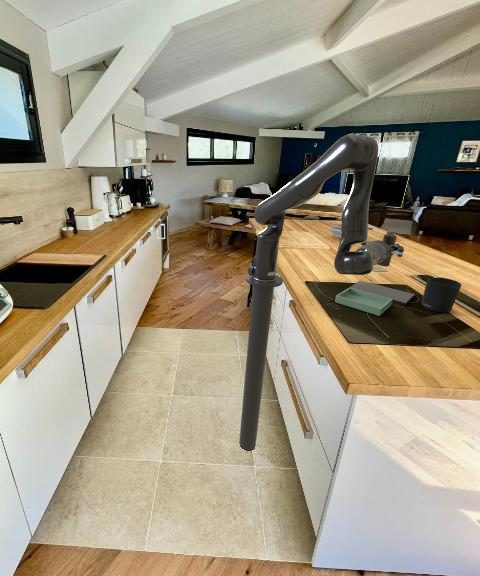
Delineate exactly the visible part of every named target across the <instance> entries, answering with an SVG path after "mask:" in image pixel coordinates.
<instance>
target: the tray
mask: <svg viewBox="0 0 480 576" xmlns="http://www.w3.org/2000/svg"><path fill="white" fill-rule="evenodd" d="M350 287H351V286H349V287H348V288H346V289H344V290H342V291H341V292H339V293H338V294H336V295H335V300H334V303H337V304H340V305H343V306H347V307H349V308H353V309H356V310H360V311H363V312H366V313H368V314H372V315H375V316H378V317H379V316H381V315H382V314H384V313H385V312H386V311H388V309H389V308H390V307H391V306H392V304H393V302H392V300H393V299H391V298H387V297H383V296H380V295H376V294H372V293H368V292H365V291H361V290H357V289H354V288H350Z"/></svg>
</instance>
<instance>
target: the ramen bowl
mask: <svg viewBox="0 0 480 576" xmlns="http://www.w3.org/2000/svg"><path fill="white" fill-rule="evenodd" d="M329 228H330V231H331V233H332V234H333V235H334V236H335V237H336V238H338V239H341V233H342V232H341V224H338V223H334V224H333V225H331V226H329ZM369 230H374V228H373V227H368V231H369Z"/></svg>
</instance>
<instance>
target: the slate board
mask: <svg viewBox="0 0 480 576" xmlns="http://www.w3.org/2000/svg"><path fill="white" fill-rule="evenodd" d="M349 287H350V288H354V289H357V290H361V291H365V292H368V293H372V294H376V295H380V296H383V297H387V298H391V299H393V300H392V303H395V304H397V305H402V306H406V305H407V304H408V303H409V302H410V301H411V300H412V299H413V298H414V297H415V293H411V292H408V291H404V290H399V289H395V288H391V287H389V286H384V285H380V284H376V283H371V282H367V281H363V280H359V281H357V282H356V283H354V284H352V285H351V286H349Z"/></svg>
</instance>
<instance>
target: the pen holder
mask: <svg viewBox="0 0 480 576" xmlns="http://www.w3.org/2000/svg"><path fill="white" fill-rule="evenodd" d="M461 288H462V283H461V282H459V281H457V280H455V279H451V278H447V277H438V276H437V277H434V278H431V279H429V278H427V280H426V284H425V287H424V291H423V294H422V299H421V306H422V307H423V308H424V309H426V310H429V311H432V312H436V313H442V314H443V313H445V314H446V313H449V312H451V311H452V309H453V307H454V305H455V302H456V300H457V299H458V298H457V297H458V295H459V293H460V290H461Z"/></svg>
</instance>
